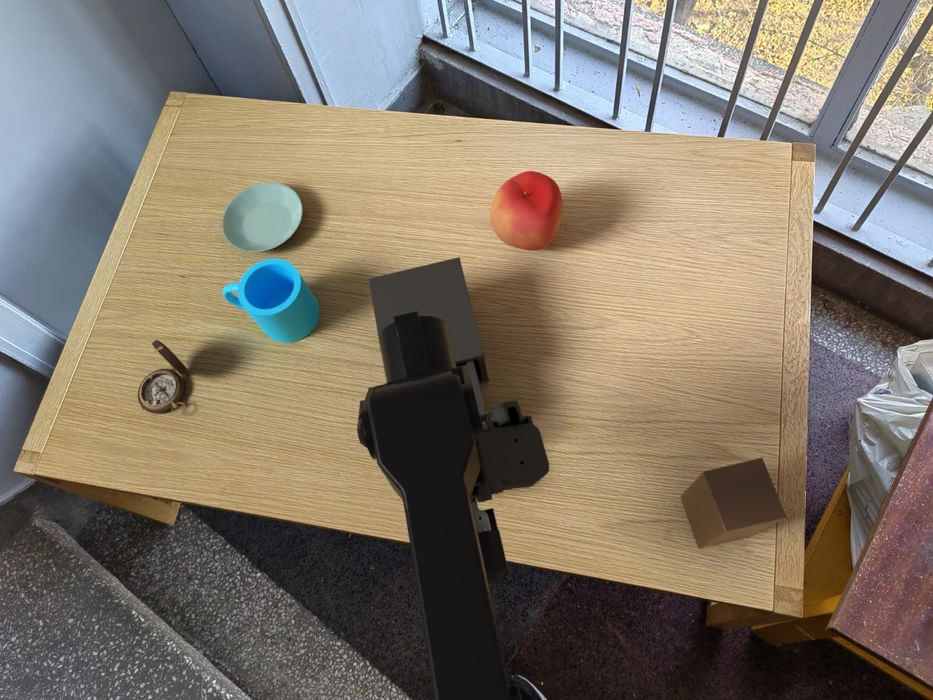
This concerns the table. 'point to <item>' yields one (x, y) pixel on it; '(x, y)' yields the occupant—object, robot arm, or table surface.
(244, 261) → the table surface
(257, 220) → the saucer
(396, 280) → the drawer cabinet
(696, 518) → the stand
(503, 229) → the apple
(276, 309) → the mug
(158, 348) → the compass
